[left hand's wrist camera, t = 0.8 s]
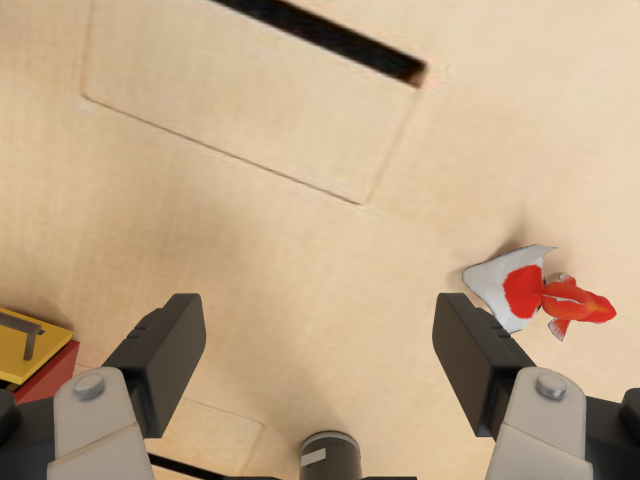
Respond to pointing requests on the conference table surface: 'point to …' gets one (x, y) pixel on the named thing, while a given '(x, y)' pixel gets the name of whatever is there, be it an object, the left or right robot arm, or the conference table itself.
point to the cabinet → (50, 376)
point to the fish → (533, 292)
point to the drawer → (26, 347)
